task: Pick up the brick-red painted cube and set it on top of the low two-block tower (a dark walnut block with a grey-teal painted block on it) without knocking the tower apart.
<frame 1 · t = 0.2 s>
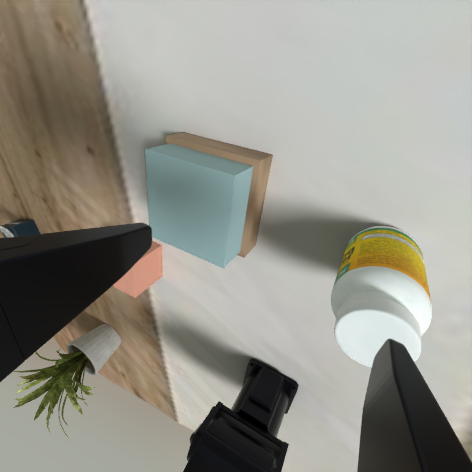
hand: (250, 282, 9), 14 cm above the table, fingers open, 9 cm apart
tower top: (206, 199, 24), point 2 cm above the table, touching tower base
watch: (32, 230, 49), on the table
tower base: (223, 189, 26), on the table, touching tower top
brick cube: (147, 253, 36), on the table
supplement bottle: (381, 253, 21), on the table
house plant: (111, 337, 52), on the table
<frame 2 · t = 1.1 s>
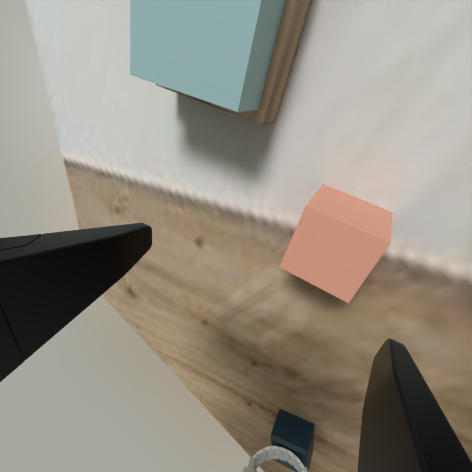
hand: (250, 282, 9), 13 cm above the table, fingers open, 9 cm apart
tower top: (218, 19, 16), point 2 cm above the table, touching tower base
watch: (296, 428, 34), on the table
tower base: (239, 32, 19), on the table, touching tower top
brick cube: (340, 225, 21), on the table
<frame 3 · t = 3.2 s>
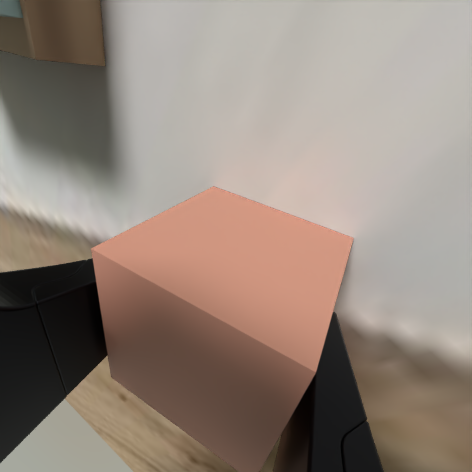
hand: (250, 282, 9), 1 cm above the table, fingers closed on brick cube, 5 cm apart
brick cube: (261, 267, 10), on the table, touching gripper
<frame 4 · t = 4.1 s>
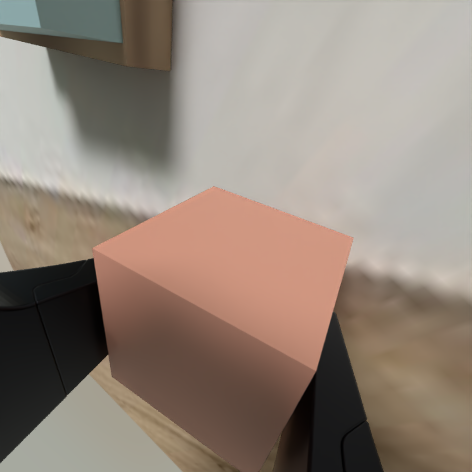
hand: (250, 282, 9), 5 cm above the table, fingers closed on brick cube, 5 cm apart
brick cube: (261, 267, 10), point 4 cm above the table, touching gripper
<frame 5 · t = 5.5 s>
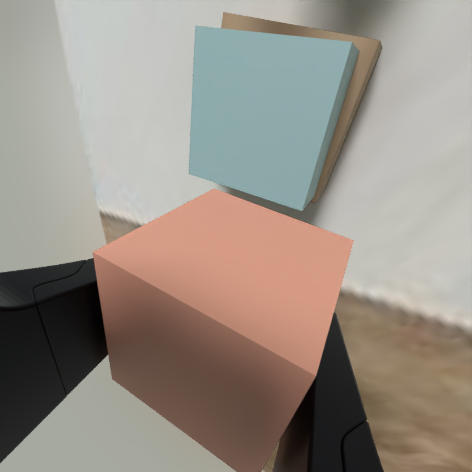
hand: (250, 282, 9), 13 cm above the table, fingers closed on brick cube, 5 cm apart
tower top: (271, 119, 17), point 3 cm above the table, touching tower base
tower base: (287, 111, 19), on the table, touching tower top
brick cube: (261, 269, 10), point 12 cm above the table, touching gripper
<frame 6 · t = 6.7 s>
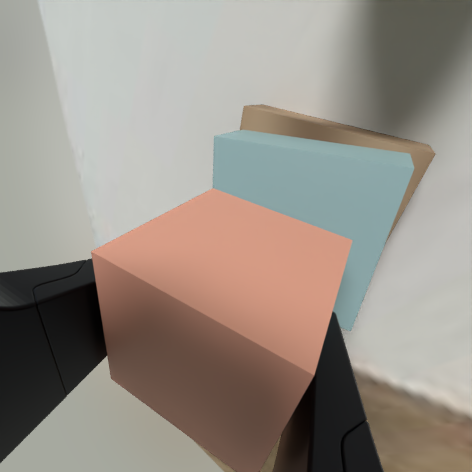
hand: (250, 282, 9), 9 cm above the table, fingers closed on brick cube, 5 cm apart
tower top: (301, 215, 15), point 2 cm above the table, touching tower base
tower base: (313, 196, 17), on the table, touching tower top
brick cube: (260, 269, 10), point 8 cm above the table, touching gripper
when the fingers open (8 cm above the table, at t = 7.5 s): brick cube drops 1 cm, resting on tower top.
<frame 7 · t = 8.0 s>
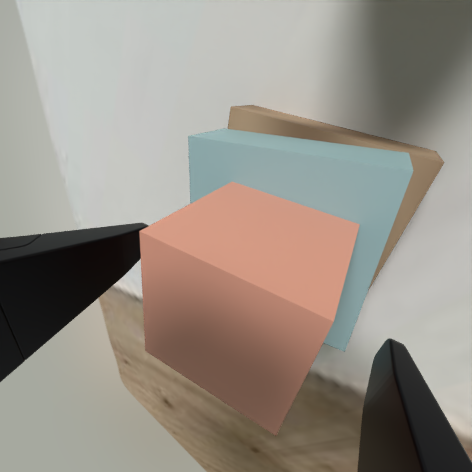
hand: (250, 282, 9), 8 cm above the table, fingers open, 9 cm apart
tower top: (290, 221, 14), point 2 cm above the table, touching brick cube, tower base
tower base: (308, 204, 16), on the table, touching tower top
brick cube: (275, 255, 11), point 5 cm above the table, touching tower top
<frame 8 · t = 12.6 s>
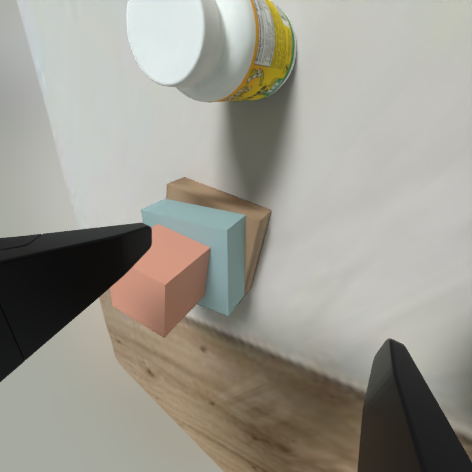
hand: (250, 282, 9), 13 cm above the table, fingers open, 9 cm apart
tower top: (205, 247, 24), point 2 cm above the table, touching brick cube, tower base
tower base: (221, 232, 27), on the table, touching tower top
brick cube: (181, 260, 22), point 5 cm above the table, touching tower top
supplement bottle: (260, 56, 18), on the table
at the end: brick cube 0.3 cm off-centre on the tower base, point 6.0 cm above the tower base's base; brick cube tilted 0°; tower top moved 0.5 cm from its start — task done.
